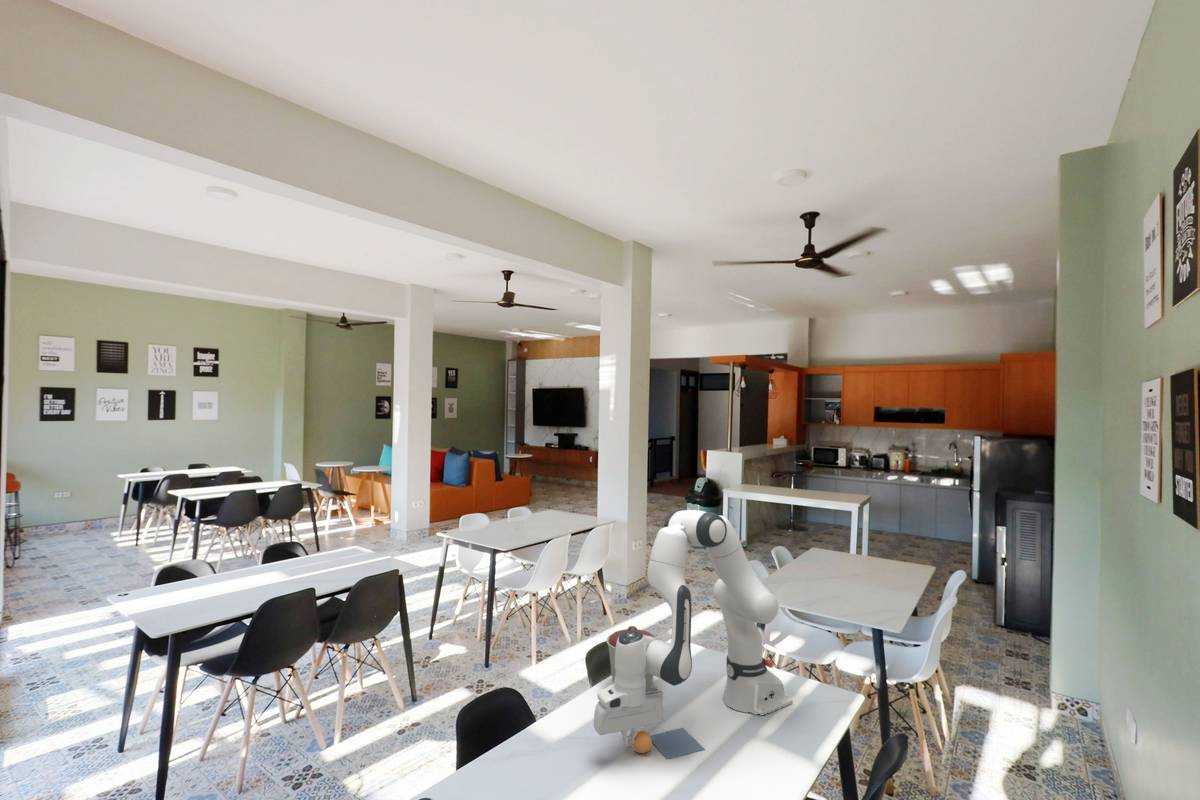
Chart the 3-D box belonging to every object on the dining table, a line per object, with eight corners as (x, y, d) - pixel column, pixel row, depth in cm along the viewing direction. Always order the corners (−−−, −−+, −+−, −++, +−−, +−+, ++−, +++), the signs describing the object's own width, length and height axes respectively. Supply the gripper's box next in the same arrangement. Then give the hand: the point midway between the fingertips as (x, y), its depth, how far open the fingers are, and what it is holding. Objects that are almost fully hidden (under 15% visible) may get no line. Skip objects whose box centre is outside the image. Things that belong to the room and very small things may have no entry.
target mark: (682, 728, 171) (682, 727, 171) (704, 749, 160) (704, 749, 160) (647, 736, 167) (647, 735, 167) (667, 759, 156) (667, 758, 156)
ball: (632, 750, 161) (648, 738, 163) (641, 761, 156) (657, 749, 158) (625, 734, 161) (642, 722, 163) (634, 744, 156) (651, 733, 158)
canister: (603, 677, 205) (603, 618, 205) (653, 675, 207) (653, 616, 207) (609, 702, 187) (609, 637, 187) (663, 700, 189) (663, 635, 189)
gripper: (657, 682, 165) (657, 731, 165) (592, 693, 158) (591, 744, 157) (668, 692, 160) (667, 742, 159) (600, 704, 152) (599, 757, 151)
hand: (628, 743), depth 158 cm, fingers closed
